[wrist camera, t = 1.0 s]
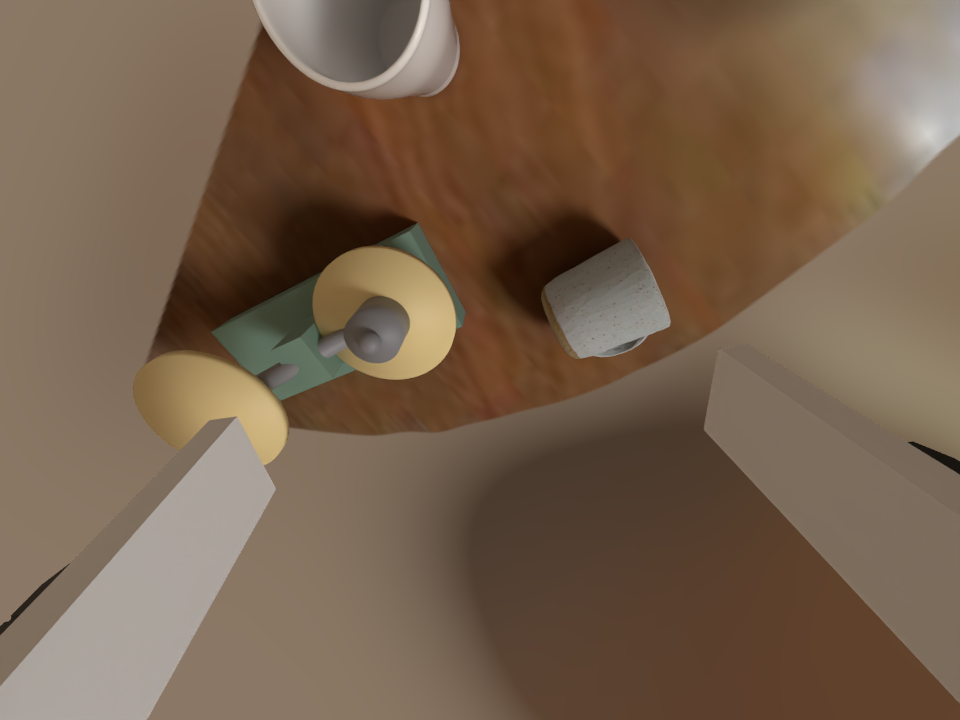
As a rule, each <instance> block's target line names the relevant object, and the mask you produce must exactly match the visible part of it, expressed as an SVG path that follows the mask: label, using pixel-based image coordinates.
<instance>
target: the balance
mask: <svg viewBox="0 0 960 720" xmlns="http://www.w3.org/2000/svg"><path fill="white" fill-rule="evenodd" d="M465 313H466V312H465V310H464V308H463V306H462V305H461V303H460V301H459V299H458V297H457V295H456V293H455V291H454V290H453V288H452V286H451V284H450V282H449V280H448V278H447V276H446V275H445V273H444V271H443V269H442V267H441V265H440V263H439V261H438V260H437V258H436V256H435V254H434V252H433V250H432V248H431V247H430V245H429V243H428V241H427V239H426V237H425V235H424V233H423V232H422V230H421V228H420V226H419V224H418V223H416V224H414V225H412V226H410V227H408V228H406V229H404V230H403V231H401V232H399V233H397V234H395V235H393V236H391V237H389V238H387V239H385V240H383V241H381V242H379V243H377V244H375V245H372V246H363V247H359V248H355V249H352V250H350V251H348V252H345V253H344V254H342V255H341V256H339V257H337V258H336V259H335V260H334V261H332V262H331V263H330V264H329V265H328V266H327V267H326V268H325V269H324V271H323V272H321V273H319V274H317V275H315V276H313V277H311V278H309V279H307V280H305V281H303V282H301V283H299V284H297V285H295V286H293V287H291V288H289V289H287V290H285V291H284V292H282V293H280V294H278V295H276V296H274V297H272V298H270V299H268V300H266V301H264V302H262V303H260V304H258V305H256V306H254V307H252V308H250V309H248V310H246V311H244V312H243V313H241V314H239V315H237V316H235V317H233V318H231V319H229V320H228V321H226V322H225V323H224V324H222V325H221V326H219V327H218V328H216V329H215V330H213V331H212V332H211V333H212V334H213V335H214V336H215V337H216V339H217V340H218V341H219V342H220V343H221V344H222V345H223V346H224V347H225V348H226V349H227V350H228V352H229V353H230V354H231V355H232V356H233V357H234V358H235V359H236V360H237V361H238V362H239V363H240V364H241V366H240V365H238V364H236V363H234V362H232V361H230V360H228V359H226V358H223V357H220V356H217V355H214V354H210V353H206V352H201V351H194V350H179V351H172V352H168V353H165V354H162V355H160V356H158V357H157V358H155V359H153V360H152V361H150V362H149V363H147V364H146V365H144V366H143V367H142V368H141V369H140V370H139V372H138V373H137V375H136V377H135V380H134V385H133V394H134V399H135V403H136V405H137V407H138V410H139V412H140V413H141V415H142V417H143V418H144V420H145V421H146V422H147V424H148V425H149V426H150V427H151V428H152V429H153V431H154V432H156V434H157V435H159V436H160V437H161V438H162V439H163V440H164V441H166V442H167V443H168V444H170V445H171V446H173V447H174V448H175V449H177V450H178V451H180V450H181V449H182V448H183V447H184V446H185V445H186V444H187V443H188V442H189V441H190V440H191V439H192V438H193V437H194V436H195V435H196V434H197V433H198V432H199V430H200V429H201V428H202V427H203V426H204V425H205V424H206V423H207V422H208V421H209V420H214V419H221V418H228V417H235V416H237V417H238V419H239V421H240V423H241V424H242V426H243V428H244V430H245V432H246V434H247V436H248V438H249V439H250V441H251V443H252V445H253V447H254V449H255V451H256V453H257V454H258V456H259V458H260V460H261V462H262V464H263V465H265V464H268V463H269V462H271V461H272V460H273V459H274V458H275V457H277V455H278V454H279V453H280V451H281V450H282V448H283V447H284V446H285V444H286V442H287V440H288V435H289V422H288V417H287V414H286V412H285V410H284V408H283V406H282V404H281V402H280V400H283V399H285V398H288V397H290V396H293V395H295V394H298V393H300V392H303V391H305V390H308V389H310V388H312V387H315V386H317V385H320V384H322V383H325V382H327V381H330V380H332V379H335V378H337V377H339V376H342V375H344V374H347V373H349V372H352V371H354V370H359V371H361V372H363V373H365V374H368V375H371V376H374V377H378V378H384V379H395V380H397V379H408V378H413V377H416V376H419V375H422V374H424V373H426V372H428V371H430V370H431V369H433V368H434V367H435V366H437V365H438V364H439V363H440V362H441V361H442V360H443V359H444V358H445V356H446V355H447V353H448V351H449V350H450V347H451V345H452V342H453V339H454V335H455V331H456V329H457V328H460V327H462V326H463V322H464V317H465Z"/></svg>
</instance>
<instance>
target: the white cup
mask: <svg viewBox="0 0 960 720" xmlns="http://www.w3.org/2000/svg"><path fill="white" fill-rule="evenodd" d="M252 2H253V5H254V7H255V10H256V12H257V14H258V16H259V18H260V20H261V22H262V24H263V26H264V28H265V30H266V31H267V33H268V34H269V36H270V38H271V39H272V41H273V42H274V43H275V45H276V46H277V47H278V49H279V50H280V51H281V52H282V54H283V55H284V56H285V57H286V58H287V59H288V60H289V61H290V62H291V63H292V64H293V65H294V66H295V67H296V68H297V69H299V70H300V71H301V72H302V73H304V74H305V75H306V76H308V77H309V78H311V79H313V80H314V81H316V82H318V83H320V84H322V85H324V86H327V87H329V88H332V89H335V90H338V91H341V92H343V93H346V94H349V95H353V96H357V97H362V98H367V99H375V100H391V99H399V98H405V97H412V96H417V97H429V96H433V95H435V94H437V93H439V92H441V91H442V90H443V89H444V88H446V86H447V85H448V84H449V83H450V82H451V80H452V78H453V77H454V75H455V72H456V70H457V66H458V62H459V56H460V43H459V36H458V32H457V28H456V25H455V23H454V21H453V15H452V10H451V5H450V0H252Z"/></svg>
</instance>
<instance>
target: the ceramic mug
mask: <svg viewBox="0 0 960 720" xmlns="http://www.w3.org/2000/svg"><path fill="white" fill-rule="evenodd" d="M541 300H542V304H543V307H544V310H545V313H546V316H547V318H548V321H549V323H550V325H551V327H552V329H553V331H554V333H555V335H556V337H557V339H558V341H559V343H560V344H561V346H562V347H563V349H564V350H565V351H566V353H567V354H568V355H569V356H571V357H573V358H576V359H579V358H585V357H590V356H597V357H609V356H615V355H618V354H622V353H625V352H627V351H629V350H631V349H633V348H635V347H637V346H638V345H639V344H641V343H642V342H643V341H644V340H645V339H646V337H647V336H648V335H649V334H652V333H655V332H657V331H660V330H663V329H665V328H667V327H669V326H670V316H669V313H668V310H667V307H666V305H665V302H664V300H663V297H662V295H661V293H660V290H659V288H658V285H657V283H656V281H655V278H654V276H653V274H652V272H651V270H650V268H649V266H648V265H647V263H646V262H645V259H644V257H643V255H642V254H641V252H640V250H639V249H638V247H637V246H636V244H635V243H634V242H633V241H632V240H631V239H630V238H627V239H624V240H622V241H620V242H619V243H617V244H615V245H613V246H611V247H610V248H608V249H606V250H604V251H602V252H600V253H599V254H597V255H595V256H593V257H591V258H590V259H588V260H586V261H584V262H583V263H581V264H579V265H577V266H576V267H574V268H572V269H570V270H568V271H566V272H564V273H562V274H561V275H559V276H557V277H556V278H554V279H553V280H552V281H550V282H549V283H548V284H547V285H545V286H544V287H543V290H542V292H541Z"/></svg>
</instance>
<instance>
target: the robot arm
mask: <svg viewBox="0 0 960 720" xmlns="http://www.w3.org/2000/svg"><path fill="white" fill-rule="evenodd" d="M704 430H705V431H706V433H708V435H709V436H710V437H712V439H713V440H714V441H715V442H716V443H717V444H718V445H719V446H720V447H721V448H722V450H723V451H724V452H725V453H726V454H727V455H728V456H729V457H730V458H731V459H732V460H733V461H734V463H736V465H737V466H738V467H739V468H740V469H741V470H742V471H743V472H744V473H745V474H746V475H747V476H748V477H749V478H750V480H751V481H752V482H753V483H754V484H755V485H756V486H757V487H758V488H759V489H760V490H761V491H762V492H763V494H764V495H765V496H766V497H767V498H768V499H769V500H770V501H771V502H772V503H773V504H774V505H775V506H776V507H777V508H778V509H779V510H780V512H781V513H782V514H783V515H784V516H785V517H786V518H787V519H788V520H789V521H790V522H791V523H792V524H793V526H794V527H796V529H797V530H798V531H799V532H800V533H801V534H802V535H803V536H804V537H805V538H806V539H807V541H808V542H809V543H810V544H811V545H812V546H813V547H814V548H815V549H816V550H817V551H818V552H819V553H820V554H821V556H822V557H823V558H824V559H825V560H826V561H827V562H828V563H829V564H830V565H831V566H832V567H833V568H834V569H835V570H836V572H837V573H838V574H839V575H840V576H841V577H842V578H843V579H844V580H845V581H846V582H847V583H848V584H849V585H850V587H852V589H853V590H854V591H855V592H856V593H857V594H858V595H859V596H860V597H861V598H862V599H863V600H864V602H865V603H866V604H867V605H868V606H869V607H870V608H871V609H872V610H873V611H874V612H875V613H876V614H877V615H878V616H879V618H880V619H881V620H882V621H883V622H884V623H885V624H886V625H887V626H888V627H889V628H890V629H891V630H892V631H893V632H894V634H895V635H896V636H897V637H898V638H899V639H900V640H901V641H902V642H903V643H904V644H905V645H906V646H907V647H908V648H909V650H910V651H911V652H912V653H913V654H914V655H915V656H916V657H917V658H918V659H919V660H920V661H921V662H922V663H923V665H924V666H925V667H926V668H927V669H928V670H929V671H930V672H931V673H932V674H933V675H934V676H935V677H936V678H937V680H938V681H939V682H940V683H941V684H942V685H943V686H944V687H945V688H946V689H947V690H948V691H949V692H950V693H951V695H952V696H953V697H954V698H955V699H956V700H957V701H958V702H959V703H960V461H958V460H956V459H955V458H952V457H949V456H947V455H945V454H942V453H940V452H937V451H935V450H933V449H930V448H927V447H925V446H923V445H920V444H918V443H915V442H906V441H904V440H902V439H901V438H899V437H898V436H896V435H894V434H893V433H891V432H890V431H888V430H886V429H885V428H883V427H881V426H880V425H878V424H876V423H875V422H873V421H872V420H870V419H868V418H867V417H865V416H863V415H862V414H860V413H859V412H857V411H855V410H854V409H852V408H851V407H849V406H847V405H845V404H844V403H842V402H841V401H839V400H837V399H836V398H834V397H833V396H831V395H829V394H827V393H826V392H824V391H823V390H821V389H819V388H818V387H816V386H815V385H813V384H811V383H810V382H808V381H807V380H805V379H803V378H802V377H800V376H798V375H797V374H795V373H794V372H792V371H790V370H789V369H787V368H785V367H784V366H782V365H781V364H779V363H777V362H776V361H774V360H772V359H771V358H769V357H767V356H766V355H764V354H763V353H761V352H759V351H758V350H756V349H755V348H753V347H751V346H750V345H748V344H744V345H737V346H730V347H723V348H719V349H718V354H717V359H716V366H715V371H714V376H713V381H712V387H711V392H710V398H709V404H708V409H707V414H706V419H705V425H704ZM275 490H276V488H275V487H274V485H273V483H272V481H271V479H270V477H269V475H268V473H267V471H266V470H265V468H264V466H263V464H262V462H261V460H260V458H259V456H258V454H257V453H256V451H255V449H254V447H253V445H252V443H251V441H250V439H249V438H248V436H247V434H246V432H245V430H244V428H243V426H242V424H241V423H240V421H239V419H238V417H237V416H235V417H228V418H221V419H214V420H209V421H208V422H207V423H206V424H205V425H204V426H203V427H202V428H201V429H200V430H199V432H198V433H197V434H196V435H195V436H194V437H193V438H192V439H191V440H190V441H189V442H188V443H187V444H186V445H185V446H184V447H183V448H182V449H181V450H180V451H179V452H178V453H177V454H176V455H175V456H174V457H173V458H172V459H171V460H170V461H169V462H168V463H167V464H166V466H165V467H164V468H163V469H162V470H161V471H160V472H159V473H158V474H157V475H156V476H155V477H154V478H153V479H152V480H151V481H150V482H149V483H148V484H147V485H146V486H145V487H144V488H143V489H142V490H141V491H140V492H139V493H138V494H137V495H136V497H134V498H133V500H131V501H130V503H129V504H128V505H127V506H126V507H125V508H124V509H123V510H122V511H121V512H120V513H119V514H118V515H117V516H116V517H115V518H114V519H113V520H112V521H111V522H110V523H109V524H108V525H107V526H106V527H105V528H104V529H103V530H102V531H101V532H100V533H99V534H98V535H97V536H96V538H94V540H93V541H92V542H91V543H90V544H89V545H88V546H87V547H86V548H85V549H84V550H83V551H82V552H81V553H80V554H79V555H78V556H77V557H76V558H75V559H74V560H73V561H72V562H71V563H70V564H68V565H67V566H66V567H64V568H63V569H62V570H60V571H59V572H58V573H57V574H55V575H54V576H53V577H51V578H50V579H49V580H47V581H46V582H45V583H43V584H42V585H41V586H40V587H39V588H38V589H37V590H36V591H35V592H34V593H33V594H32V595H31V596H30V597H29V598H28V599H27V600H26V601H25V602H24V603H23V604H22V605H21V606H20V607H19V608H18V609H17V610H16V611H15V612H14V613H13V614H12V615H11V620H10V621H9V622H4V623H3V625H1V626H0V720H147V718H148V717H149V715H150V713H151V711H152V709H153V708H154V706H155V704H156V702H157V700H158V699H159V697H160V695H161V693H162V691H163V689H164V688H165V686H166V684H167V682H168V681H169V679H170V677H171V675H172V674H173V672H174V670H175V668H176V667H177V665H178V663H179V661H180V659H181V658H182V656H183V654H184V652H185V650H186V649H187V647H188V645H189V643H190V642H191V640H192V638H193V636H194V634H195V633H196V631H197V629H198V627H199V625H200V624H201V622H202V620H203V618H204V616H205V615H206V613H207V611H208V609H209V607H210V606H211V604H212V602H213V600H214V598H215V597H216V595H217V593H218V592H219V590H220V588H221V586H222V584H223V583H224V581H225V579H226V577H227V575H228V574H229V572H230V570H231V568H232V566H233V565H234V563H235V561H236V559H237V558H238V556H239V554H240V552H241V550H242V549H243V547H244V545H245V543H246V542H247V540H248V538H249V536H250V534H251V533H252V531H253V529H254V527H255V525H256V524H257V522H258V520H259V518H260V517H261V515H262V512H263V511H264V509H265V508H266V506H267V504H268V502H269V500H270V499H271V497H272V495H273V493H274V491H275Z"/></svg>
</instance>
